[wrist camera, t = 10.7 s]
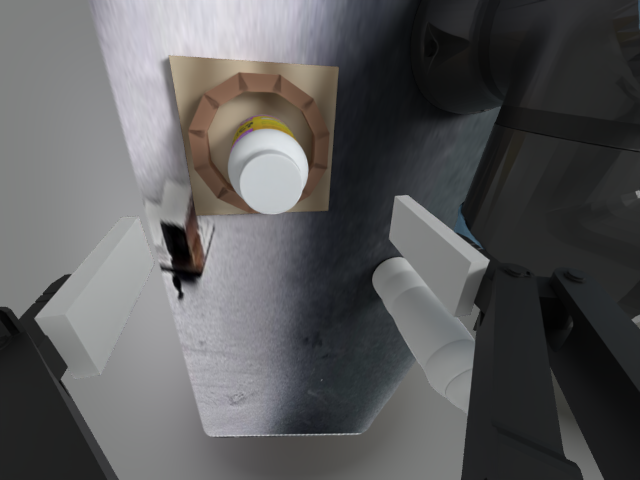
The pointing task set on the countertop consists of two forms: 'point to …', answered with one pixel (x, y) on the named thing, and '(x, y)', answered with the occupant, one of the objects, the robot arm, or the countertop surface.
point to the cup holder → (242, 103)
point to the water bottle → (428, 330)
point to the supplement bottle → (267, 165)
